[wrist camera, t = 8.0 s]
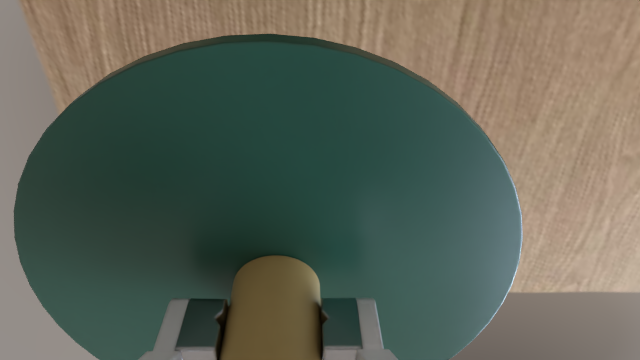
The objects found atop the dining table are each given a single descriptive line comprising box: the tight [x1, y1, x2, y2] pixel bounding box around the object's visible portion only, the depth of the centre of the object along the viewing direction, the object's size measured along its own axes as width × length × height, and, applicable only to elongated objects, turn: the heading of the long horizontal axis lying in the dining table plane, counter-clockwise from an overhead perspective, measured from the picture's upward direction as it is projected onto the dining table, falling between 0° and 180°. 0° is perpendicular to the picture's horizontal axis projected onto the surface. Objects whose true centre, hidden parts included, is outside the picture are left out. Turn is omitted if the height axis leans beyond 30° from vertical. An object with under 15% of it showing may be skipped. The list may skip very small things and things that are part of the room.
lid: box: [14, 34, 523, 360], centre depth 12 cm, size 15×15×5 cm
